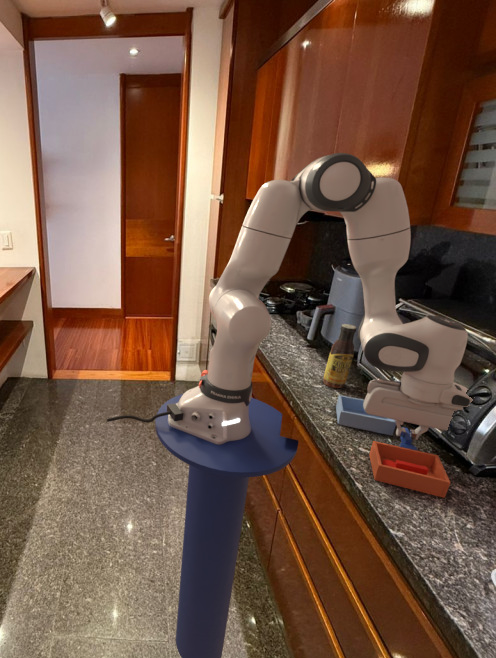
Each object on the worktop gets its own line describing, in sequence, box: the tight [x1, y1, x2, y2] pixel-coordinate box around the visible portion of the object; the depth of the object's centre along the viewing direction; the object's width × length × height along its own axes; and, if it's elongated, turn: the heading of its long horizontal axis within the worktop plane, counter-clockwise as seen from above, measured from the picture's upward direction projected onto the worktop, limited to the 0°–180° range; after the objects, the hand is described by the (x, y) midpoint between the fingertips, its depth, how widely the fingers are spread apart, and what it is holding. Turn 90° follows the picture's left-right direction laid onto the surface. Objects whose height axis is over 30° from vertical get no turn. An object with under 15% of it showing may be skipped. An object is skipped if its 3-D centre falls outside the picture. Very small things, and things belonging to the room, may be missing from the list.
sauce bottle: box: [322, 323, 358, 389], centre depth 119 cm, size 7×6×20 cm
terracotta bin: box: [368, 440, 451, 499], centre depth 84 cm, size 12×9×4 cm
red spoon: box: [382, 460, 428, 475], centre depth 85 cm, size 8×3×2 cm, turn 64°
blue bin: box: [335, 394, 397, 437], centre depth 104 cm, size 12×9×4 cm
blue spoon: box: [398, 426, 418, 451], centre depth 92 cm, size 8×3×2 cm, turn 154°
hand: (406, 436), depth 93 cm, fingers closed on blue spoon, 1 cm apart
